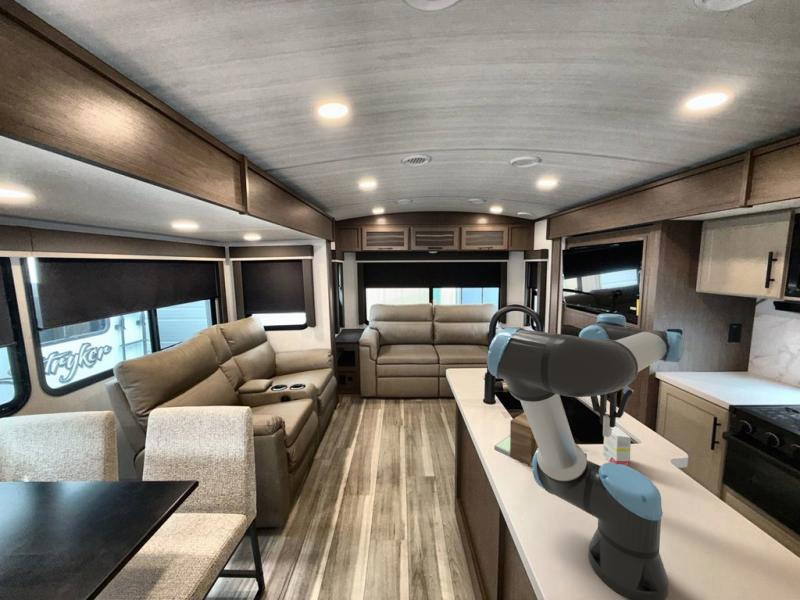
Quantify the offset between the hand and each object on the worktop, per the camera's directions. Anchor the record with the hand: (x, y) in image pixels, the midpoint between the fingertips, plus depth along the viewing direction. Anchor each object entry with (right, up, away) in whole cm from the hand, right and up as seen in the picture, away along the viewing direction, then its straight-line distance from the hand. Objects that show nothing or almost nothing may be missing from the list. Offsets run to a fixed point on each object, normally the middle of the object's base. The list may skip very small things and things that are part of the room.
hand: (607, 435), depth 99 cm
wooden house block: (-17, -17, +21) cm, 32 cm away
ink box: (+14, -17, +16) cm, 27 cm away
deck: (-17, -17, +21) cm, 32 cm away
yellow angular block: (-10, -16, +14) cm, 23 cm away
